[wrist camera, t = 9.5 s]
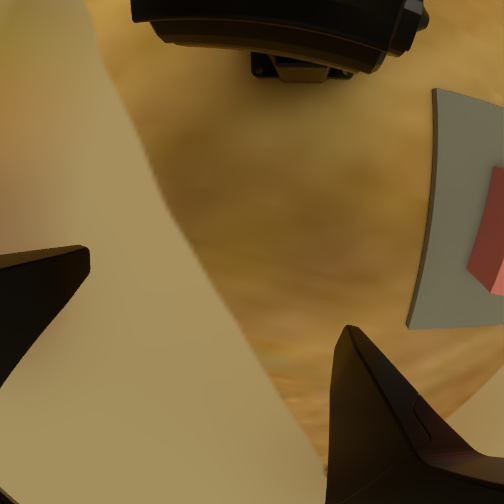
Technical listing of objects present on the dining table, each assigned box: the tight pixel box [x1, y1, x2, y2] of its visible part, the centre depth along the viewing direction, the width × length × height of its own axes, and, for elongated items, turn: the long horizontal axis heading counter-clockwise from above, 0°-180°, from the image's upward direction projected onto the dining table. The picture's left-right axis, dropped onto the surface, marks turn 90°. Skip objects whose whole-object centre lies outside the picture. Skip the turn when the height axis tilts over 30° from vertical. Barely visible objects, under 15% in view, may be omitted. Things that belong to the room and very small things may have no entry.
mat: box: [406, 88, 504, 330], centre depth 16 cm, size 18×14×1 cm
